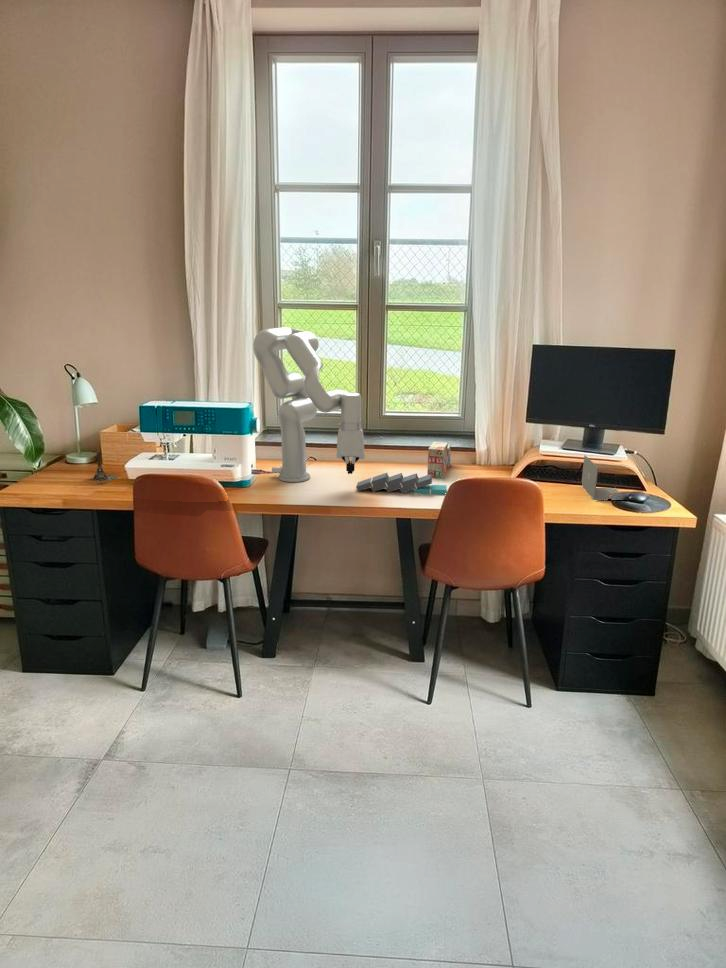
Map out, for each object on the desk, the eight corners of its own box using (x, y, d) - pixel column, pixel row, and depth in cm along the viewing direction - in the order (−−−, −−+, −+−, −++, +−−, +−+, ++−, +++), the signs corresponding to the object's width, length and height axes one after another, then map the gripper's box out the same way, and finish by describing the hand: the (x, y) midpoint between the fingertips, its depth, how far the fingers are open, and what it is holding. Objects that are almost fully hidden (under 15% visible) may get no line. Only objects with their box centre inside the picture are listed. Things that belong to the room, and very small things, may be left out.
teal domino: (414, 489, 255) (446, 490, 254) (414, 493, 249) (446, 495, 248) (415, 484, 255) (446, 485, 253) (414, 488, 249) (446, 489, 248)
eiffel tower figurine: (101, 486, 257) (97, 453, 253) (78, 484, 259) (74, 451, 255) (124, 476, 271) (120, 444, 267) (102, 474, 273) (98, 442, 269)
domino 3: (385, 487, 250) (415, 477, 247) (387, 482, 255) (416, 473, 252) (387, 492, 250) (417, 482, 247) (389, 487, 256) (418, 477, 253)
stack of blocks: (435, 463, 290) (437, 436, 286) (450, 465, 289) (451, 437, 285) (427, 477, 270) (428, 448, 267) (442, 478, 269) (443, 449, 265)
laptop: (628, 502, 242) (632, 468, 238) (593, 501, 243) (597, 467, 239) (613, 487, 259) (617, 455, 255) (580, 486, 260) (584, 454, 256)
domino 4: (399, 488, 249) (429, 478, 246) (401, 483, 255) (430, 474, 252) (401, 493, 250) (431, 483, 247) (402, 488, 255) (432, 478, 253)
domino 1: (356, 486, 251) (385, 476, 248) (358, 482, 256) (386, 472, 254) (357, 491, 251) (387, 481, 249) (359, 486, 257) (388, 477, 254)
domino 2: (370, 487, 250) (400, 477, 248) (372, 482, 256) (401, 472, 253) (372, 492, 251) (402, 482, 248) (374, 487, 256) (403, 477, 254)
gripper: (329, 427, 244) (329, 475, 249) (370, 428, 243) (369, 476, 249) (332, 423, 251) (332, 469, 257) (371, 424, 250) (370, 471, 256)
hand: (350, 472), depth 253 cm, fingers closed
